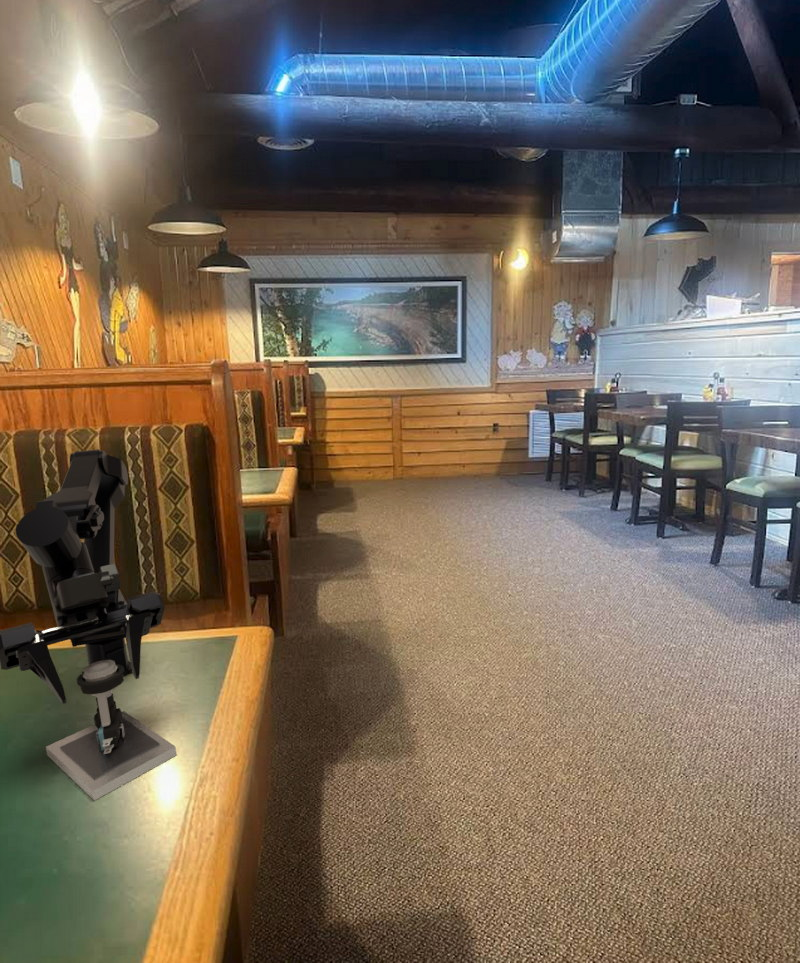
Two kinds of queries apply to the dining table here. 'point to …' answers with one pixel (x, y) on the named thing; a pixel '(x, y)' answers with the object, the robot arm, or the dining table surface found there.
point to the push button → (104, 700)
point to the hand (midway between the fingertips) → (102, 689)
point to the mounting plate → (110, 756)
